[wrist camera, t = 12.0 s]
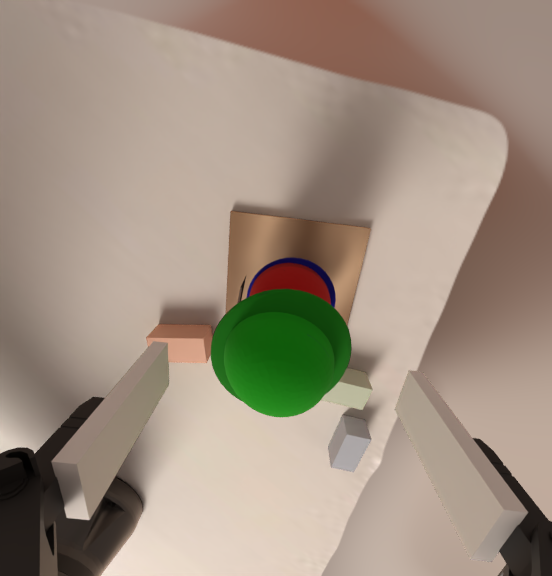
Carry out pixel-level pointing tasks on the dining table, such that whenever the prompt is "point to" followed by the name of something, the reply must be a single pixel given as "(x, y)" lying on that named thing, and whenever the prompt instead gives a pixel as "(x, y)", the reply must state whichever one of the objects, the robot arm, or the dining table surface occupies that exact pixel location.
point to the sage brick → (350, 390)
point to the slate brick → (348, 443)
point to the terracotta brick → (184, 341)
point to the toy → (282, 340)
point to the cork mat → (295, 252)
